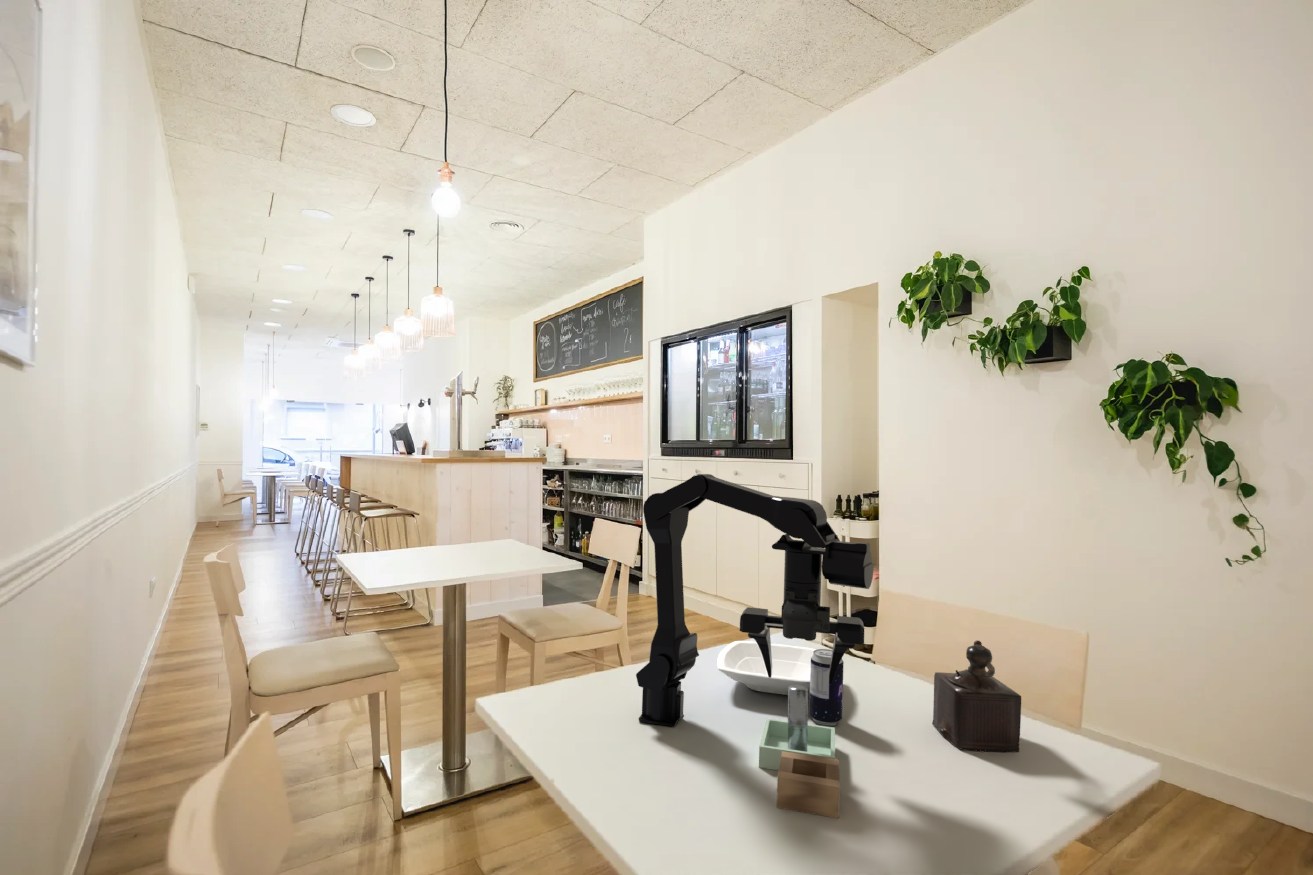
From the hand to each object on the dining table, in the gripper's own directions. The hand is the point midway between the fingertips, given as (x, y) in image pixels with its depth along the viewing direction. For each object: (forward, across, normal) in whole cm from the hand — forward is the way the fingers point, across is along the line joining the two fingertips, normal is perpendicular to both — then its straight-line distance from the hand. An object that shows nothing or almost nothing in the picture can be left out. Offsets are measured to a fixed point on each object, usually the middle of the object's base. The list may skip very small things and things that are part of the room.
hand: (799, 680), depth 102 cm
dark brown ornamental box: (+12, +29, +15) cm, 35 cm away
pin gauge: (+11, 0, 0) cm, 11 cm away
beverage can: (+12, +4, +16) cm, 20 cm away
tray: (+12, 0, 0) cm, 12 cm away
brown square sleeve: (+12, +2, -12) cm, 17 cm away
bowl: (+12, -6, +30) cm, 33 cm away
